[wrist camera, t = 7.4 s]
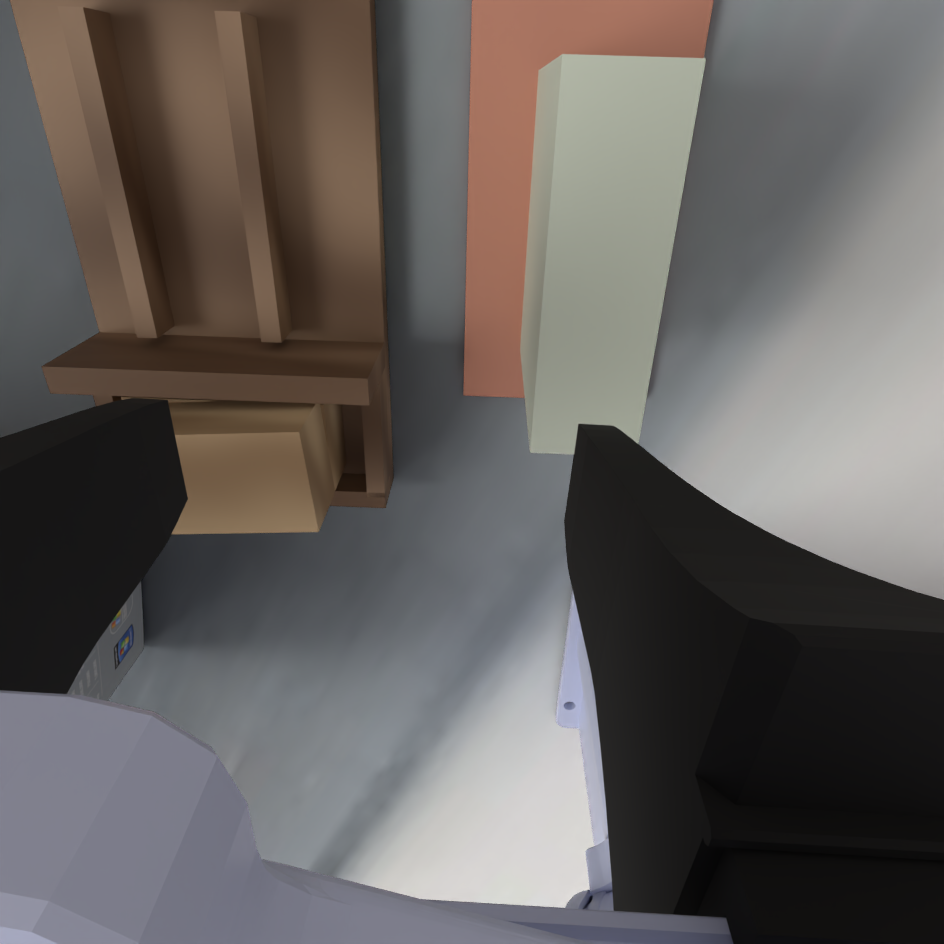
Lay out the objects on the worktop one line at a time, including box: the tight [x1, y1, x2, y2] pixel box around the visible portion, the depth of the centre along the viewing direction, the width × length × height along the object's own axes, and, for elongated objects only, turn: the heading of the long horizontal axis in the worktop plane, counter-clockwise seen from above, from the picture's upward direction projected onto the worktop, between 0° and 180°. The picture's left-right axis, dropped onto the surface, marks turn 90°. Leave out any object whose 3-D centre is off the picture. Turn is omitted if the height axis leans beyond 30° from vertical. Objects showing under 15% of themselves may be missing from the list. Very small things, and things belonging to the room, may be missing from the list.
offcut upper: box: [168, 401, 335, 534], centre depth 19 cm, size 3×6×2 cm, turn 93°
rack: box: [10, 0, 394, 508], centre depth 18 cm, size 15×9×4 cm, turn 178°
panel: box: [520, 54, 706, 455], centre depth 16 cm, size 8×2×7 cm, turn 179°
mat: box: [463, 0, 714, 398], centre depth 19 cm, size 11×6×1 cm, turn 178°
